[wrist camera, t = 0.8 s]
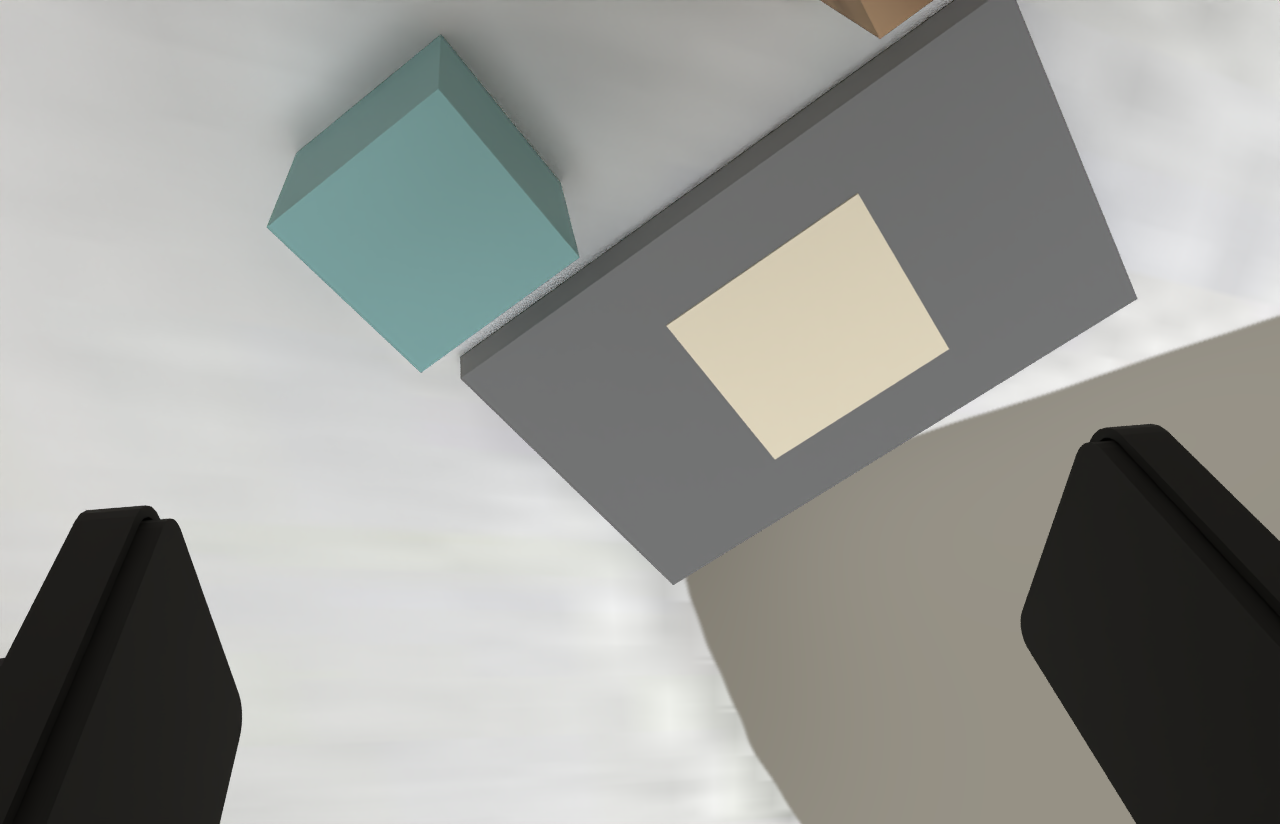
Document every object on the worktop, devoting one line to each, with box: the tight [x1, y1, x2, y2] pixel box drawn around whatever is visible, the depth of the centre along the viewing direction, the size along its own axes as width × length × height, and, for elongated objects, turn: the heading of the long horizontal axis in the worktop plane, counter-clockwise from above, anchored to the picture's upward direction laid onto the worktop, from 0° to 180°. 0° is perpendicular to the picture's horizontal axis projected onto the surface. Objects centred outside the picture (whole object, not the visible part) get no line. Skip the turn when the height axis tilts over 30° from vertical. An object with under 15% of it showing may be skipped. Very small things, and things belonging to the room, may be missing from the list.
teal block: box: [267, 35, 579, 372], centre depth 29 cm, size 6×6×6 cm
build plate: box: [460, 0, 1137, 585], centre depth 36 cm, size 22×14×2 cm, turn 125°
